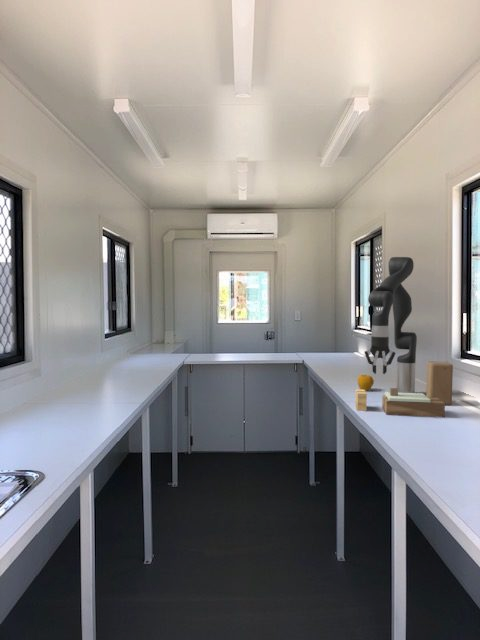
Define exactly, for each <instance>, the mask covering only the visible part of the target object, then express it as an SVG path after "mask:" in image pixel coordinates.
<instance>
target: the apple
mask: <svg viewBox="0 0 480 640" xmlns="http://www.w3.org/2000/svg"><path fill="white" fill-rule="evenodd" d="M374 383H375V382H374V379H373V376H372V375H370V374H369V375H368V374H360V375H359V376H358V377H357V386H358V388H359V389H360V390H365V392H368V391H369V390H371V388H372V387H373V386H374Z"/></svg>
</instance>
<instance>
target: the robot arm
mask: <svg viewBox="0 0 480 640" xmlns="http://www.w3.org/2000/svg"><path fill="white" fill-rule="evenodd" d="M414 264H415V263H414V260H413V258H412V257H409V256H393V257H392V256H391V258H390V259H389V261H388V276H386V277H385V279H383V281H382V282H381V284H379V286H377V287H376V288H374V289H373V290H371V292H370V293H369V295H368V298H367V299H368V304H369V305H370V306H371V307H374V308H377V307H378V308H381V307H382V309H381V310H380V311H376V312H373V313H372V315H371V316H372V318H371V319H372V320H371V333H370V334H371V342H370V348H369V350H364V352H363V353H364V356H365V358H366V360H367V363H368V364H369V365H371V367H372V373H373V374H374V375H376V374H377V362H378V359H382V375H385V374H387V371H388V370H387V367H388V366H389V365H391V364H392V362H393V360H394V358H395V355H396V352H395V351H392V350H390V346H389V344H390V342H389V341H390V329H389V323H390V322H389V319H390V313H391V309H392V313H393V321H394V322H393V324H394V325H393V326H394V328H393V329H394V337H393V338H394V346H395V348H396V349H397V350H407V351H408V352H407V353H405V354H401V355H399V356H397V358H396V388H397V389H398V393H416V363H417V362H416V361H417V360H416V356H417V354H416V353H417V344H418V343H417V342H418V340H417V333H415V332H413V331H411V332H409V331H402V328H403V326H404V324H405V322H406V321H407V319H408V318H409V317H410V316H411V314H412V311H413V305H412V298H411V295H410V294H409V292H408V291H407V290H406V289H405V287H404V286H403V284H402V283H403V282H404V281H406V279H408V278H409V277H410V276H411V274H412V273H413V271H414V268H415V267H414ZM371 354H372V355H373V357H372V360H371V357H370V355H371ZM388 354H389V358H388V360H387V356H388Z"/></svg>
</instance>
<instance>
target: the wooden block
mask: <svg viewBox="0 0 480 640" xmlns="http://www.w3.org/2000/svg"><path fill="white" fill-rule="evenodd" d="M453 369H454V366H453V364H452V363H450V362H448V361H442V360H441V361H439V360H438V361H435V360H428V361H427V362H426V384H425V385H426V387H425V388H426V395H425V396H427V397H437V398H438V399H440V400H441V401H442V402H443V403H445V406H451V405H452V404H453V373H454V372H453V371H454V370H453Z"/></svg>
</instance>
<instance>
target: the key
mask: <svg viewBox="0 0 480 640" xmlns="http://www.w3.org/2000/svg"><path fill="white" fill-rule="evenodd" d="M367 396H368V394H367V391H365V390H361V389H360V388H359V389H355V405H354V406H355V409H356V411H358V412H361V411H362V412H367V403H368V402H367V399H368V398H367Z"/></svg>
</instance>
